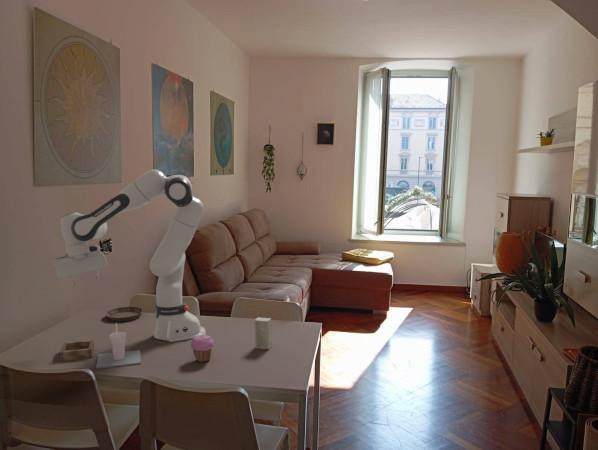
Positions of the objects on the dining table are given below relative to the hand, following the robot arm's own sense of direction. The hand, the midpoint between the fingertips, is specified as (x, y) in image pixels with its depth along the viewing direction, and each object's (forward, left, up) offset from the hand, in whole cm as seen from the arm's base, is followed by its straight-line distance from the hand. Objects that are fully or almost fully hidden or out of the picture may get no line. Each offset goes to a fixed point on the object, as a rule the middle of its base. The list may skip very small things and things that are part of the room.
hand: (86, 283), depth 222 cm
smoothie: (-13, +25, -25) cm, 38 cm away
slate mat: (-13, +25, -26) cm, 38 cm away
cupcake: (-44, +35, -26) cm, 62 cm away
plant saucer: (-14, -34, -26) cm, 45 cm away
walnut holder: (+3, +14, -26) cm, 29 cm away
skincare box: (-70, +28, -26) cm, 80 cm away
